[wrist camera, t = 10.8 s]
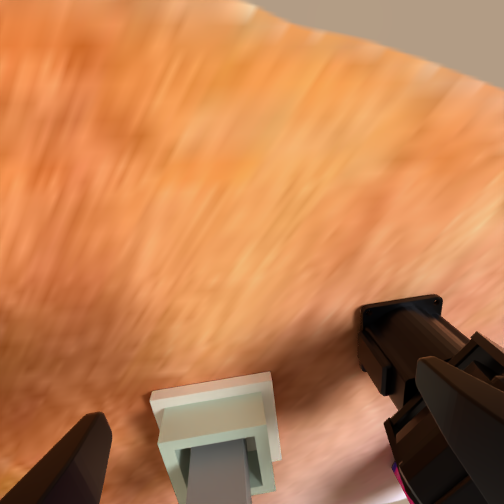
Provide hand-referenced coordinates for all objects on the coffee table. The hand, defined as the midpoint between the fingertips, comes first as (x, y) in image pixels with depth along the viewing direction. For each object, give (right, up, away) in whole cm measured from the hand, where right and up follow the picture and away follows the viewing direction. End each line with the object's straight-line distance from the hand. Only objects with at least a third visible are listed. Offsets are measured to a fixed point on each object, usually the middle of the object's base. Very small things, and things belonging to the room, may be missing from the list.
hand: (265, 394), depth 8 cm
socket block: (-3, -11, +18) cm, 22 cm away
